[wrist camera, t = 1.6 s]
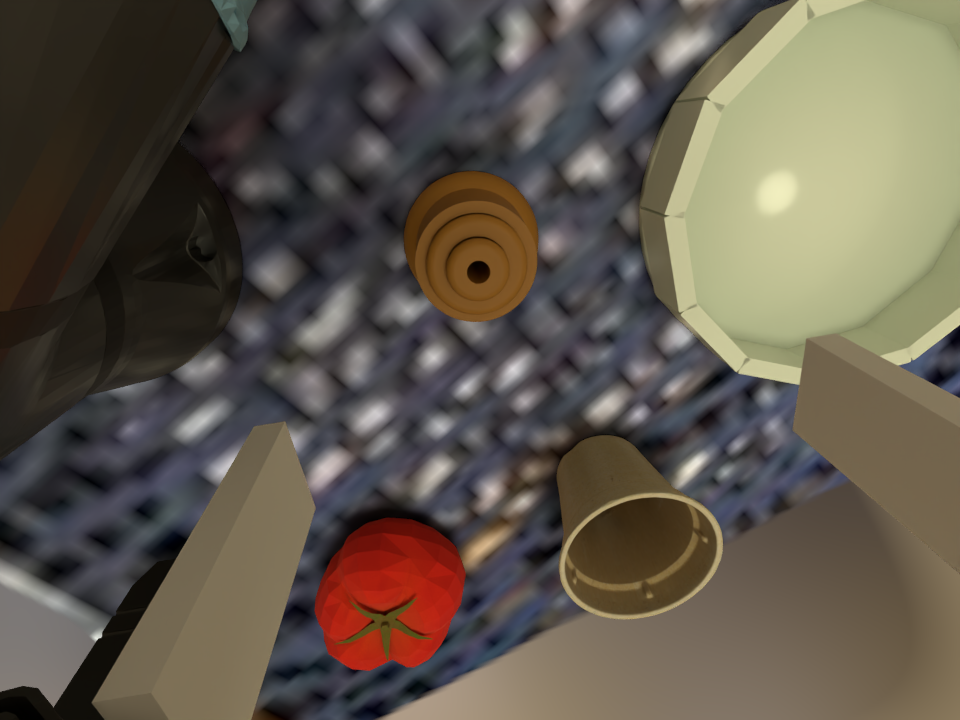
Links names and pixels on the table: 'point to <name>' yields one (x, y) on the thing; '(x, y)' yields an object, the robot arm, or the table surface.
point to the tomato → (389, 594)
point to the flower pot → (630, 533)
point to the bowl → (813, 185)
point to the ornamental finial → (472, 245)
